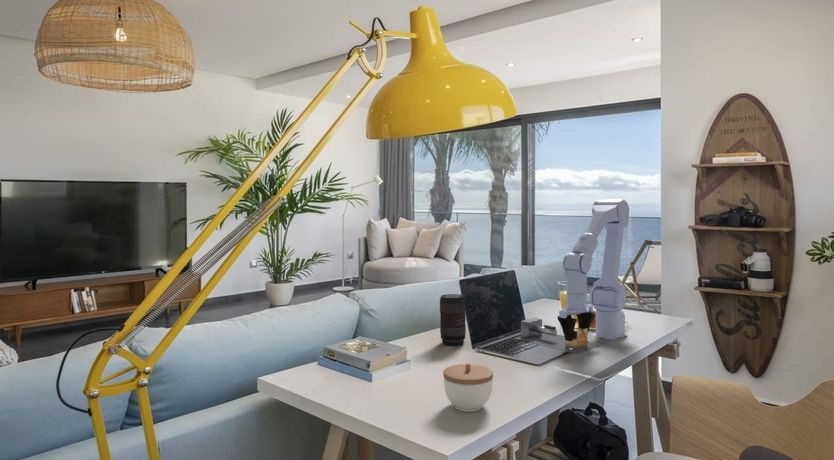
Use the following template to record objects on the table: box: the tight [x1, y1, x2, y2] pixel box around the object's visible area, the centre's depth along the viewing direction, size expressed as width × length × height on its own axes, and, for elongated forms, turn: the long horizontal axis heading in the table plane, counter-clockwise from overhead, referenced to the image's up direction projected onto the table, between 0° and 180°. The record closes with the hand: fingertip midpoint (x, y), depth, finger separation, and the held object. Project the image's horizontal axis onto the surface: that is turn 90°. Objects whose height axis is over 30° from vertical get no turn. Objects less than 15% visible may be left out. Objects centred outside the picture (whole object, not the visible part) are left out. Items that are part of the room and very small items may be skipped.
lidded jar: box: [443, 362, 494, 413], centre depth 117 cm, size 11×11×9 cm
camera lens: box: [439, 293, 467, 347], centre depth 168 cm, size 8×8×15 cm
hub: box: [565, 325, 588, 349], centre depth 160 cm, size 5×4×5 cm
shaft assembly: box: [520, 317, 558, 339], centre depth 170 cm, size 7×10×5 cm, turn 40°
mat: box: [513, 333, 602, 355], centre depth 166 cm, size 13×23×1 cm, turn 40°
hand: (576, 338), depth 160 cm, fingers open, 7 cm apart
